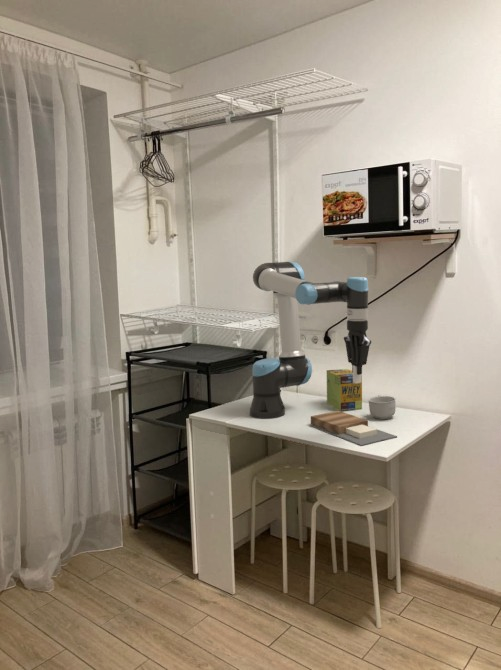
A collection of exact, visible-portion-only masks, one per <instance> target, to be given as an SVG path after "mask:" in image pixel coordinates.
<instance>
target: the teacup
mask: <svg viewBox="0 0 501 670" xmlns="http://www.w3.org/2000/svg"><path fill="white" fill-rule="evenodd" d="M367 401H368V408H369V413H370V415H371V416H372V417H373V418H375V419H377V420H387V419H391V418H392V417H393V416H394V415H395V413H396V397H394V396H390V395H381V394H380V395H377V396H371V397H369V398H368V399H367Z"/></svg>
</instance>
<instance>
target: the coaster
mask: <svg viewBox="0 0 501 670" xmlns="http://www.w3.org/2000/svg"><path fill="white" fill-rule="evenodd" d="M368 426H369V425H368ZM368 426H365V425H358V426H353V427H349V428H346V434H349V435H352V436H354V437H357V438H360V439H361V438H365V437H369V436H373V435H377V430H378V429H377V428H375V429H374V427H372V428H371V426H369V427H368Z"/></svg>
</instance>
